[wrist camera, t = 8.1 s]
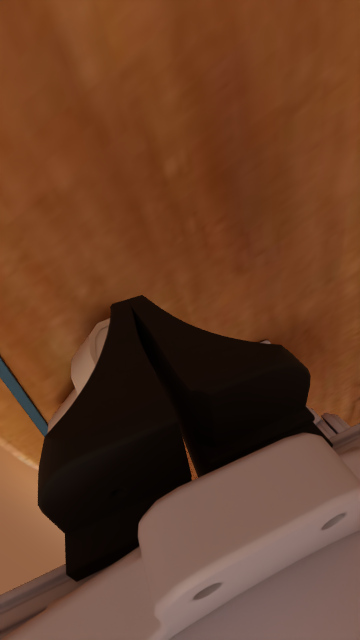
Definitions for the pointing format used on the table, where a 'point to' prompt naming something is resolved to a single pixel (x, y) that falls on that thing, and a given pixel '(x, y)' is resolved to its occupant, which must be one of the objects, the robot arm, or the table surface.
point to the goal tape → (22, 398)
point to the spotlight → (83, 366)
